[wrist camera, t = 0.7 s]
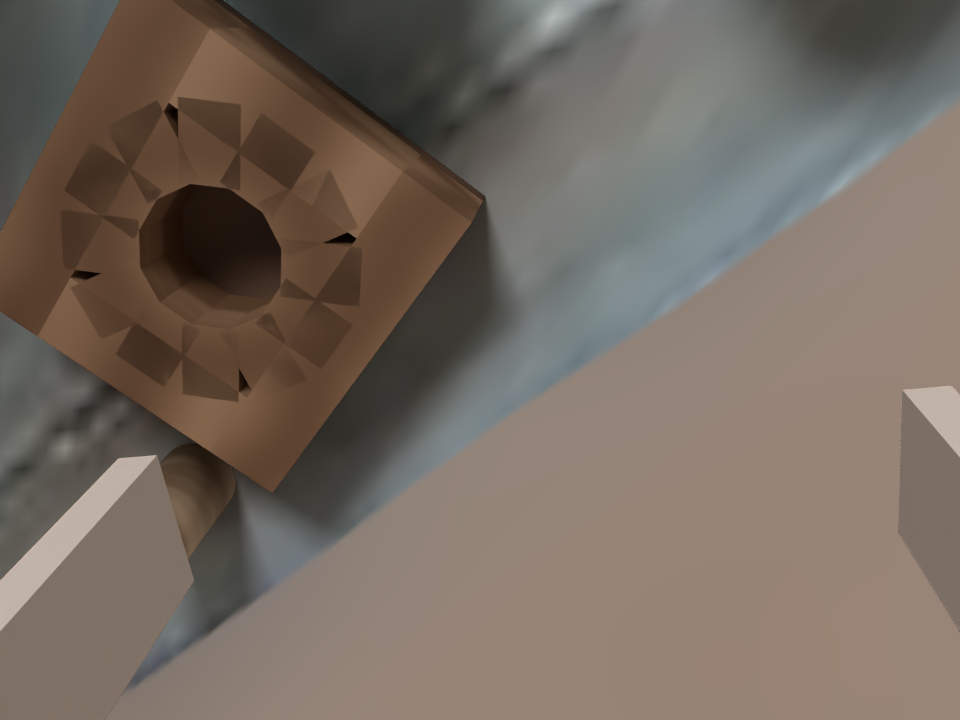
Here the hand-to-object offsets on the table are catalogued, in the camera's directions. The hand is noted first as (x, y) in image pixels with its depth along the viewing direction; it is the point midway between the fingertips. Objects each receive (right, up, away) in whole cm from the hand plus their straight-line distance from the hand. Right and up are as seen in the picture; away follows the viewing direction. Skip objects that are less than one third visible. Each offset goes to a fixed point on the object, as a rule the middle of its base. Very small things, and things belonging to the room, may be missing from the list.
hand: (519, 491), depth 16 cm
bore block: (-10, +8, +22) cm, 26 cm away
